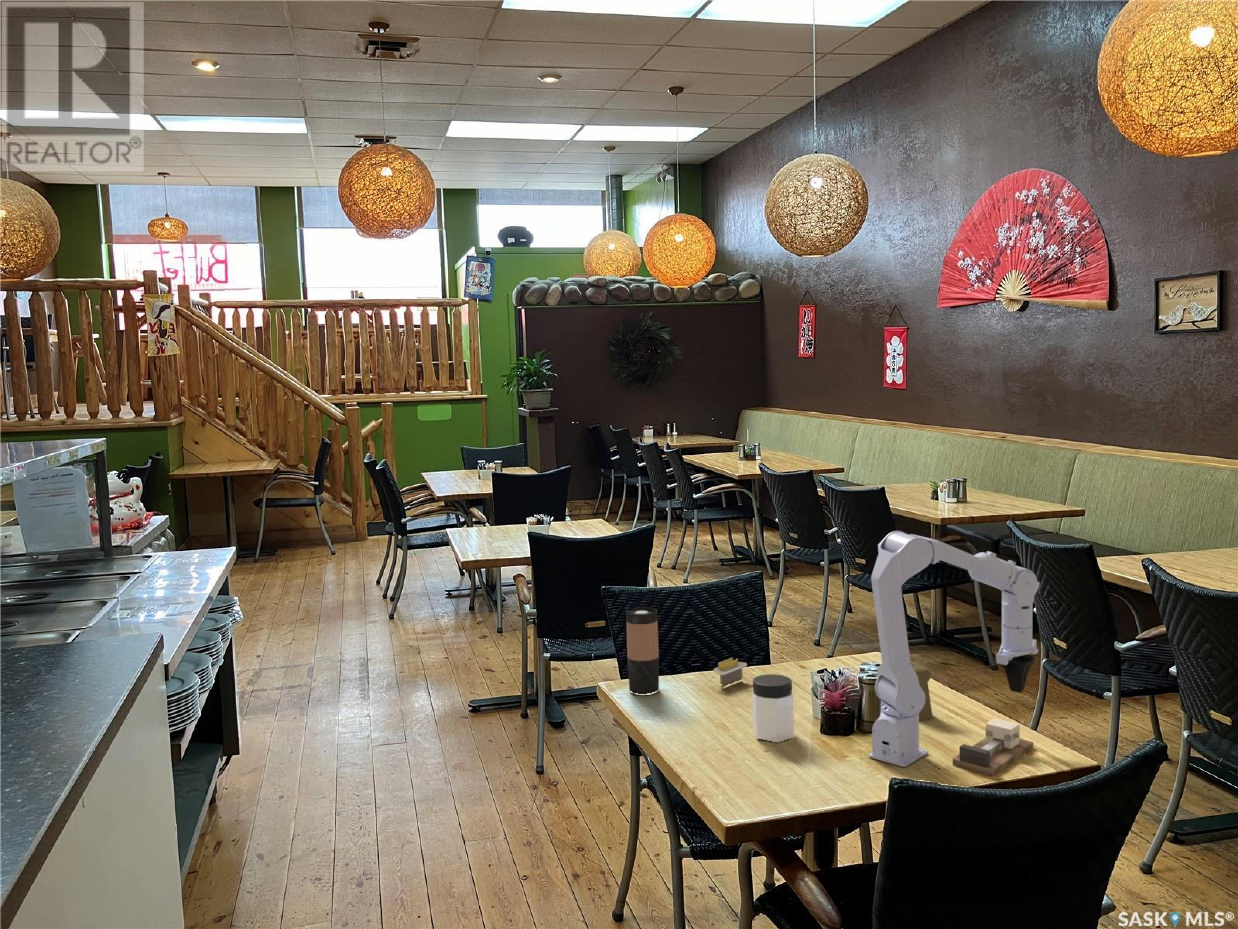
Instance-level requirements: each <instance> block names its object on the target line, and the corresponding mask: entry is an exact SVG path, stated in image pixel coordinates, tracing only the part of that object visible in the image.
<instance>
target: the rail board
mask: <svg viewBox="0 0 1238 929" xmlns="http://www.w3.org/2000/svg"><path fill="white" fill-rule="evenodd" d="M1032 748H1033V749H1034V741H1031V740H1025V739H1022V738H1020V743H1019V744H1018V745H1016V746H1015V747H1013V748H1012V749H1009V748H1005V747H1004V740H1000V739H994V740H993V741H991V742H990V743H986V737H985V738H982V739H981V740H980V741H978V742H977V743H975V744H973V745H969V744H964V743H963V744H962V745H959V754H958V755H956V756H954V757H953V758H952V766H955V767H959V768H962V769H966V770H970V771H974V772H977V773H981V774H984V775H988V776H991V777H995V776H996V775H997V774H999V773H1000V772H1002V771H1003V770H1004V769H1006V768H1007V767H1008V766H1010V765H1011V764H1013V763H1014V762H1016V761H1017V760H1019V759H1020V758H1021V757H1023V756H1024V755H1025V754H1024V753H1026V754H1027V753H1028V752H1030V751H1031V750H1033V749H1032ZM1030 749H1031V750H1030ZM1029 750H1030V751H1029ZM1019 757H1020V758H1019ZM1015 760H1016V761H1015Z"/></svg>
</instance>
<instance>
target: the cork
mask: <svg viewBox="0 0 1238 929" xmlns="http://www.w3.org/2000/svg"><path fill="white" fill-rule="evenodd" d="M912 667H913V669H914V671H915V672H916V674H917V676H918V680H919V685H920V687H921V688H922V690H923V691H924V693H925V704H924V707H923V708H922V710H921V711H920V712H919V721H928V720H927V719H929V720H932V719H933V710H932V703H931V697H930V689H929V681H930V680H931V672H930V670H929V668H928V667H926V666H923V665H912Z"/></svg>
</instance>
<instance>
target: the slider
mask: <svg viewBox="0 0 1238 929" xmlns="http://www.w3.org/2000/svg"><path fill="white" fill-rule="evenodd" d="M985 738H986V743H990V742H991V741H993V740H994V739H1000V740H1004V747H1005V748H1009V749H1012V748H1013V747H1015V746H1016V745H1018V744H1019V743H1020V739H1021V738H1020V723H1017V722H1012V721H1009V720H1004V719H1000V718H995V717H994V718H993V719H991V720H989V721H988V722H986V723H985Z"/></svg>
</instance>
